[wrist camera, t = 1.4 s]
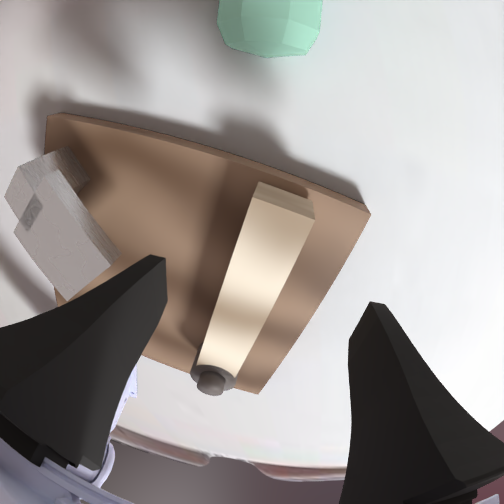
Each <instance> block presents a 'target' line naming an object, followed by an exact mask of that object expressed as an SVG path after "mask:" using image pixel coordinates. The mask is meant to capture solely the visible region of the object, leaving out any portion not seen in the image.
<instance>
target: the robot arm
mask: <svg viewBox="0 0 504 504" xmlns="http://www.w3.org/2000/svg"><path fill="white" fill-rule="evenodd" d="M167 302H168V295H167V277H166V258H164V257H160V256H156V255H152V254H150V255H148V256H146V257H144V258H143V259H141V260H139V261H138V262H136V263H135V264H133V265H131V266H130V267H128V268H127V269H125V270H123V271H122V272H120V273H118V274H117V275H115V276H114V277H112V278H110V279H109V280H107V281H106V282H104V283H102V284H100V285H99V286H97V287H95V288H93V289H92V290H90V291H88V292H86V293H85V294H83V295H81V296H79V297H78V298H76V299H74V300H72V301H70V302H68V303H66V304H64V305H61V306H59V307H57V308H55V309H53V310H50V311H48V312H45V313H43V314H40V315H38V316H35V317H33V318H30V319H27V320H25V321H22V322H18V323H15V324H12V325H8V326H5V327H1V328H0V504H82V503H81V502H80V499H83V500H85V501H87V502H88V503H90V504H134V503H132V502H129V501H127V500H124V499H122V498H120V497H118V496H116V495H113V494H111V493H109V492H107V491H105V490H103V489H101V488H100V487H101V485H102V484H103V482H104V481H105V480H106V479H107V477H108V475H109V473H110V471H111V469H112V466H113V463H114V459H115V451H114V449H113V445H112V444H111V443H109V442H110V439H111V437H110V436H109V433H110V432H111V431H112V430H113V429H114V428H115V426H116V424H117V421H118V419H119V417H120V415H121V412H122V410H123V408H124V406H125V404H126V401H127V399H128V397H129V396H131V397H133V398H136V397H137V379H136V363H137V361H138V360H139V358H140V356H141V354H142V352H143V351H144V349H145V347H146V345H147V344H148V342H149V340H150V338H151V336H152V335H153V333H154V331H155V329H156V327H157V326H158V324H159V321H160V319H161V317H162V314H163V312H164V309H165V307H166V304H167ZM348 372H349V385H350V399H351V416H352V426H351V440H350V450H349V457H348V464H347V470H346V475H345V480H344V485H343V490H342V494H341V497H340V501H339V504H472V499H474V498H476V497H477V489H478V488H480V487H483V486H485V485H486V484H489V483H491V482H493V481H494V480H496V479H498V478H500V477H502V476H503V475H504V443H503V442H502V441H500V440H499V439H498V438H496V437H495V436H493V435H492V434H491V433H490V432H488V431H487V430H486V429H485V428H484V427H483V426H482V425H480V424H479V423H478V422H477V421H476V420H475V419H474V418H473V417H472V416H471V415H470V414H469V413H468V412H467V411H466V410H465V409H464V408H463V407H462V406H461V405H460V404H459V403H458V402H457V401H456V400H455V399H454V398H453V397H452V395H451V394H450V393H449V392H448V391H447V389H446V388H445V387H444V386H443V385H442V383H441V382H440V381H439V380H438V378H437V377H436V376H435V375H434V373H433V372H432V371H431V369H430V368H429V366H428V365H427V364H426V362H425V361H424V360H423V358H422V357H421V355H420V354H419V353H418V351H417V350H416V348H415V347H414V345H413V344H412V342H411V341H410V339H409V338H408V336H407V335H406V333H405V332H404V330H403V329H402V327H401V326H400V324H399V323H398V321H397V320H396V319H395V317H394V316H393V314H392V313H391V312H390V310H389V309H388V308H387V306H386V305H385V304H381V303H376V302H369V304H368V306H367V308H366V310H365V312H364V313H363V315H362V317H361V319H360V321H359V323H358V324H357V326H356V328H355V330H354V332H353V333H352V335H351V337H350V339H349V349H348ZM476 504H499V495H498V494H496V495H494V496H492V497H489V498H487V499H485V500H483V501H480V502H478V503H476Z"/></svg>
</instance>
